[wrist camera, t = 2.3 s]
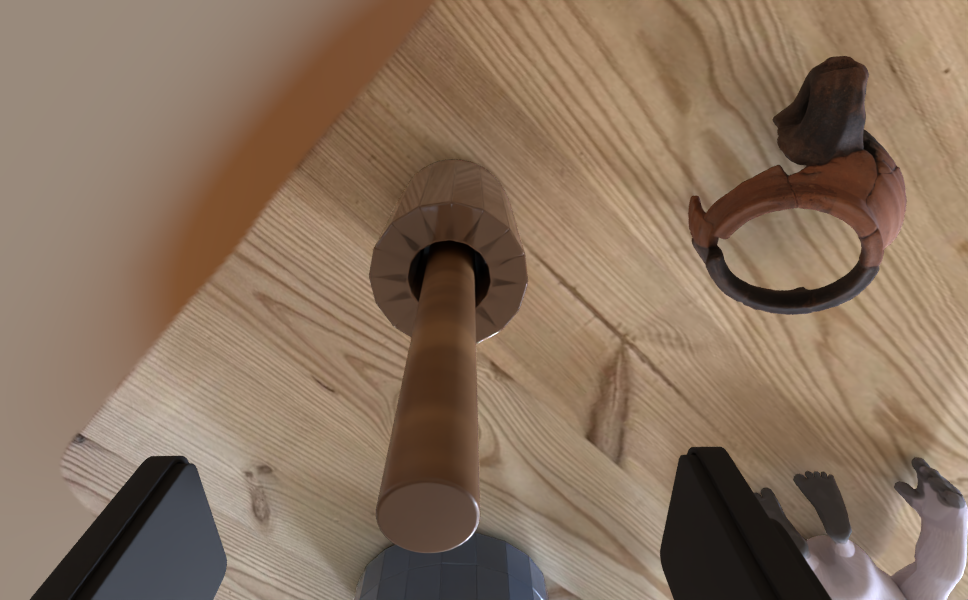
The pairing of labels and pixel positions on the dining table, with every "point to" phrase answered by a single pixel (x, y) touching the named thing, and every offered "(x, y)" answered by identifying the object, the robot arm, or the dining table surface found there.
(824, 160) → the broken pottery
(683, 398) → the dining table surface
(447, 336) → the stick
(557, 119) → the dining table surface
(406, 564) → the bowl
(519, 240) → the holder
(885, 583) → the yeti figurine
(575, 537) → the dining table surface
